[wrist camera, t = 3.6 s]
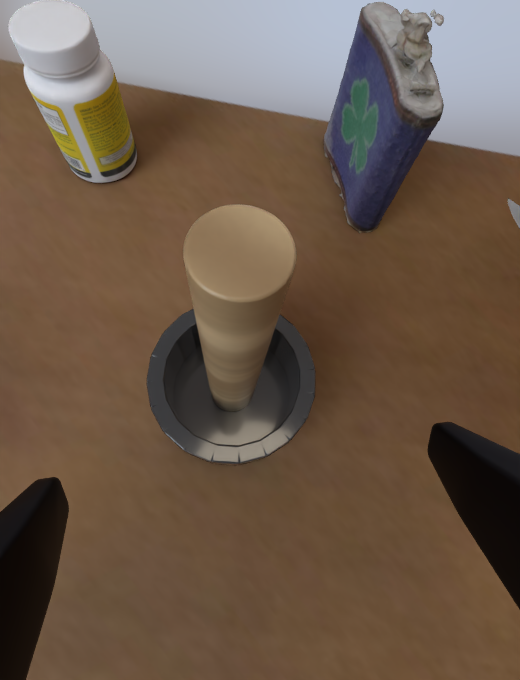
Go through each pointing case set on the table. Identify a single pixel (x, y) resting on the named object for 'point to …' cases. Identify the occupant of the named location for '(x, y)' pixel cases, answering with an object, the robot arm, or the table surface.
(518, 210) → the knife
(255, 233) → the muddler
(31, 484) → the robot arm
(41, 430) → the table surface
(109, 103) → the supplement bottle
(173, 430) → the cup
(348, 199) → the flask
